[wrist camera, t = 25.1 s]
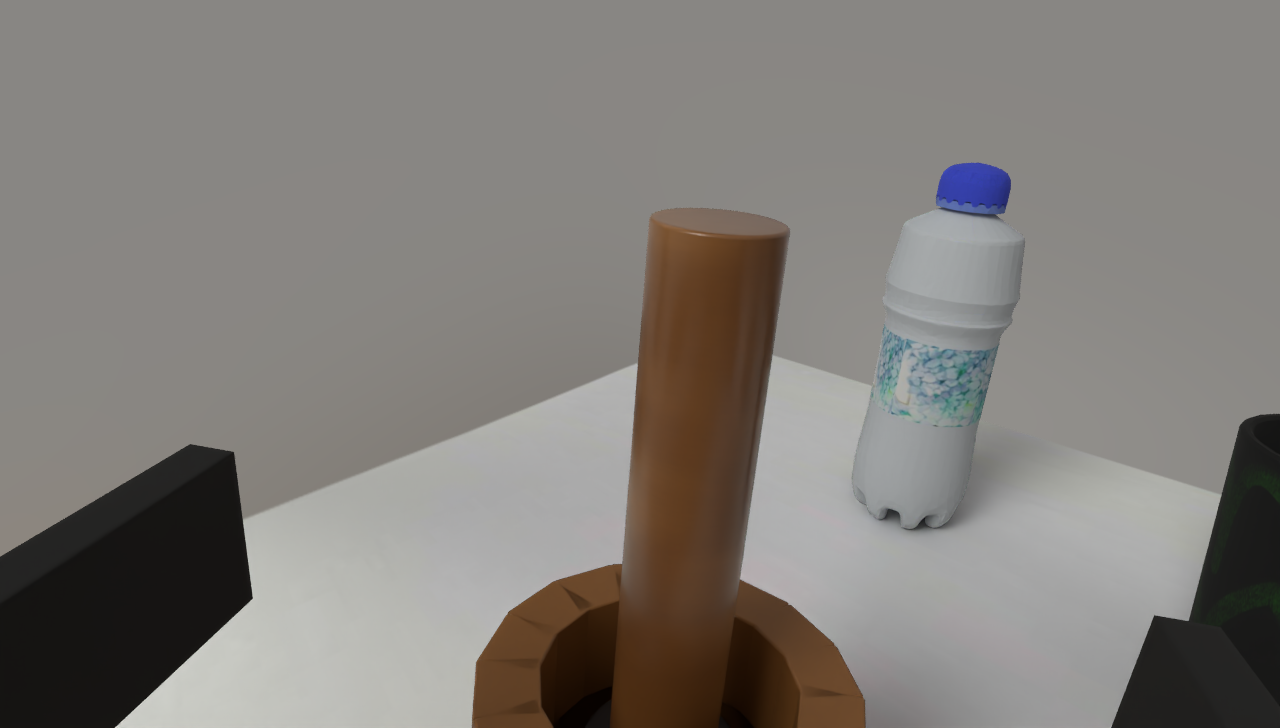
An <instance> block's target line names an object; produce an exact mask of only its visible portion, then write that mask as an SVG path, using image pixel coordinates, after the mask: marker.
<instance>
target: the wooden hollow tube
mask: <svg viewBox="0 0 1280 728" xmlns="http://www.w3.org/2000/svg"><path fill="white" fill-rule="evenodd" d="M621 574H622V564H613V565H608V566H605V567H601V568H598V569H594V570H591V571H587V572H584V573H580V574H577V575H573V576H570V577H567V578H563V579H560V580H557V581H554V582H552V583H551V584H549V585H548V586H546V587H545V588H543V589H542V590H540V591H539V592H537V593H536V594H534V595H533V596H531V597H530V598H528V599H527V600H525V601H524V602H522V603H521V604H519V605H518V606H516V607H515V608H513V609H512V610H510V611H509V612H508V615H506V617H505V618H504V620H503V621H502V623H501V624H500V626H499V628H498V629H497V631H496V632H495V634H494V635H493V637H492V638H491V640H490V641H489V643H488V645H487V646H486V648H485V649H484V651H483V652H482V654H481V655H480V657H479V659H478V660H477V662H476V672H475V686H474V700H473V713H472V728H585V726H586V724H587V722H588V721H589V719H590V718H591V716H592V715H593V714H594V713H595V712H596V711H597V710H598V709H599V708H600V707H601V706H602V705H604V704H605V703H606V702H608V701H609V700H611V699H612V689H613V676H614V663H615V650H616V638H617V625H618V612H619V600H620V587H621ZM720 715H721V717H722V718H723V719H724V720H725V721H726V722H727V723H728V725H729V726H730V727H731V728H866V723H865V700H864V698H863V695H862V693H861V691H860V690H859V688H858V686H857V684H856V682H855V680H854V678H853V676H852V675H851V673H850V671H849V669H848V667H847V665H846V663H845V661H844V660H843V658H842V656H841V654H840V652H839V650H838V648H837V647H836V646H835V645H834V643H833V642H832V641H831V640H830V639H829V638H827V637H826V636H825V635H824V634H823V633H822V632H821V631H820V630H818V629H817V628H816V627H815V626H814V625H813V624H812V623H811V622H809V621H808V620H807V619H806V618H805V617H804V616H803V615H802V614H801V613H799V612H798V611H797V610H796V609H795V608H794V607H793V606H791V605H789V604H788V603H787V602H785V601H783V600H781V599H779V598H777V597H775V596H773V595H771V594H769V593H767V592H765V591H763V590H760V589H758V588H756V587H754V586H752V585H750V584H748V583H746V582H744V581H742V580H740V582H739V589H738V595H737V602H736V609H735V616H734V623H733V630H732V637H731V644H730V651H729V658H728V664H727V671H726V678H725V685H724V692H723V699H722V706H721V713H720Z"/></svg>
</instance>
